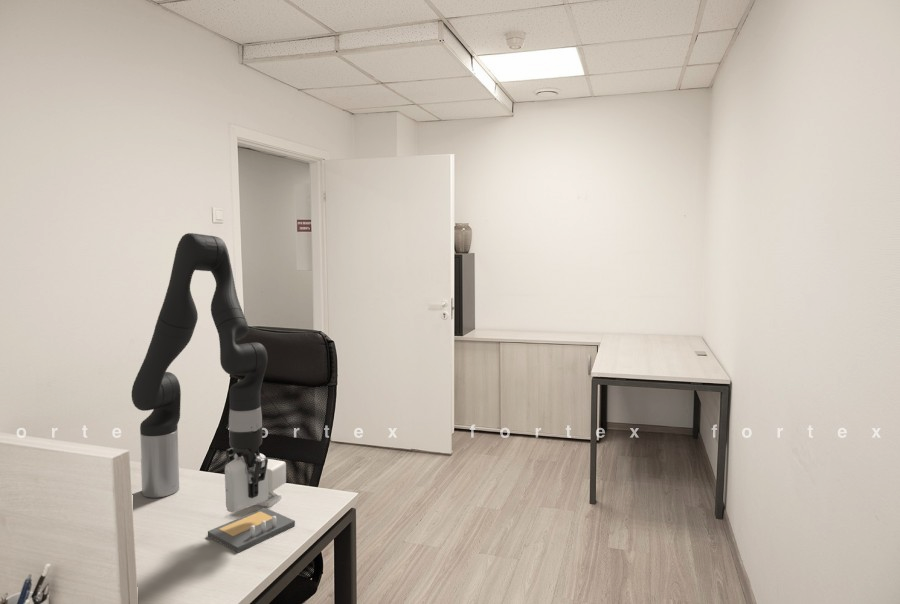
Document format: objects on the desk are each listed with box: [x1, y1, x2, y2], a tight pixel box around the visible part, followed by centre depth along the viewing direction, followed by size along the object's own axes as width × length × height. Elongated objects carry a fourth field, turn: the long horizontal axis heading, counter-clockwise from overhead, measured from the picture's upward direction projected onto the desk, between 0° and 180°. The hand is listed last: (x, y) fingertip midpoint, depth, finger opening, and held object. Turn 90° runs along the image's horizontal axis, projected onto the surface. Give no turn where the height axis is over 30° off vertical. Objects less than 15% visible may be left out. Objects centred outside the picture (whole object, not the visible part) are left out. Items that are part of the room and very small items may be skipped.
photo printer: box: [224, 452, 268, 513], centre depth 140 cm, size 10×4×12 cm, turn 140°
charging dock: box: [207, 506, 296, 553], centre depth 140 cm, size 12×16×4 cm
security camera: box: [255, 458, 287, 508], centre depth 157 cm, size 6×7×10 cm
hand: (247, 493), depth 141 cm, fingers closed on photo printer, 4 cm apart
